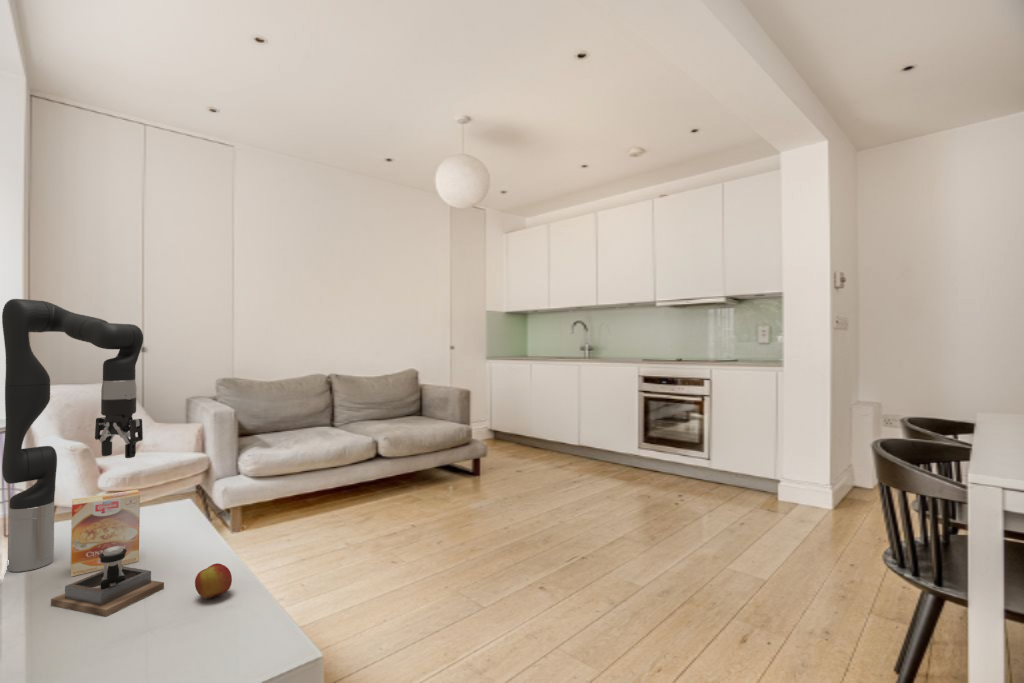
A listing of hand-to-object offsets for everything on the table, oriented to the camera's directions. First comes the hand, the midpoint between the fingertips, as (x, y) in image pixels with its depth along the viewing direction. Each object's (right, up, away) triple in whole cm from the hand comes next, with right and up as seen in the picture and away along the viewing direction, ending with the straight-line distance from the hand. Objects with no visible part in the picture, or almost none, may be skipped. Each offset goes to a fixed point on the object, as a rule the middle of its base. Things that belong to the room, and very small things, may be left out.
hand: (118, 456), depth 135 cm
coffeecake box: (-9, -32, +6) cm, 34 cm away
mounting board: (+7, -32, -12) cm, 35 cm away
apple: (+33, -32, -12) cm, 48 cm away
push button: (+7, -31, -12) cm, 33 cm away
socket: (+7, -30, -12) cm, 33 cm away
